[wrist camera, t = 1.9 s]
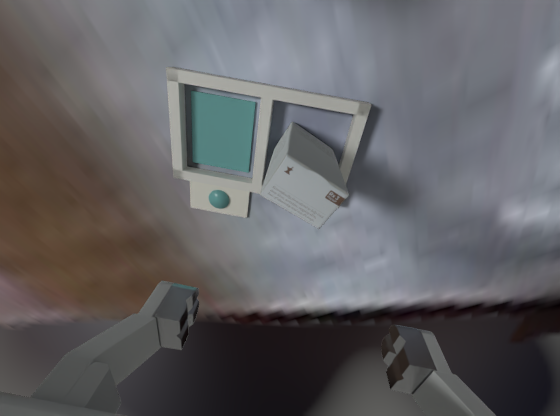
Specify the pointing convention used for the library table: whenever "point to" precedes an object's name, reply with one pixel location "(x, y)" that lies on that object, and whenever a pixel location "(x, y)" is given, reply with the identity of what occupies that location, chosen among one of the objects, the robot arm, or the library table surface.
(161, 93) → the library table surface
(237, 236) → the library table surface
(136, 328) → the robot arm
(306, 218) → the skincare box
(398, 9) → the library table surface
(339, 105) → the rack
